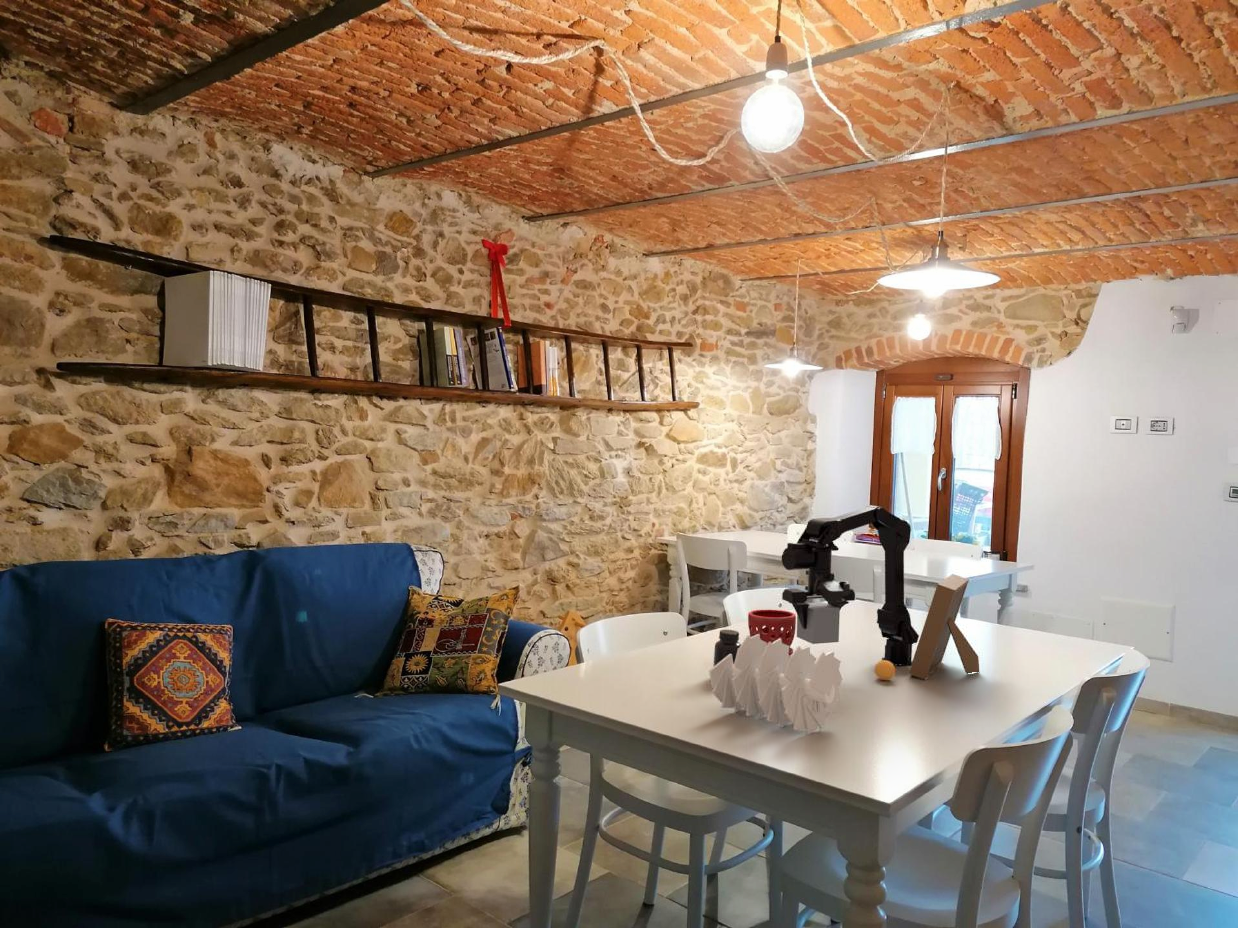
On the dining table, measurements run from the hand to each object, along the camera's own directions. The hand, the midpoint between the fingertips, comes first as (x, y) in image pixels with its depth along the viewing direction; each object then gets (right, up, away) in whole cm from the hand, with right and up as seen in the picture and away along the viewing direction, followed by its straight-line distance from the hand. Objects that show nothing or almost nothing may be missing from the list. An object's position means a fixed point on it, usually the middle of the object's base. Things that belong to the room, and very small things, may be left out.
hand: (817, 627), depth 221 cm
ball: (+16, -10, -5) cm, 19 cm away
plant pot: (-10, -11, +16) cm, 21 cm away
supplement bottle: (-25, -11, -10) cm, 29 cm away
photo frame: (+35, -13, +4) cm, 37 cm away
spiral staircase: (-18, -13, -40) cm, 46 cm away
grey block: (0, -3, 0) cm, 3 cm away
